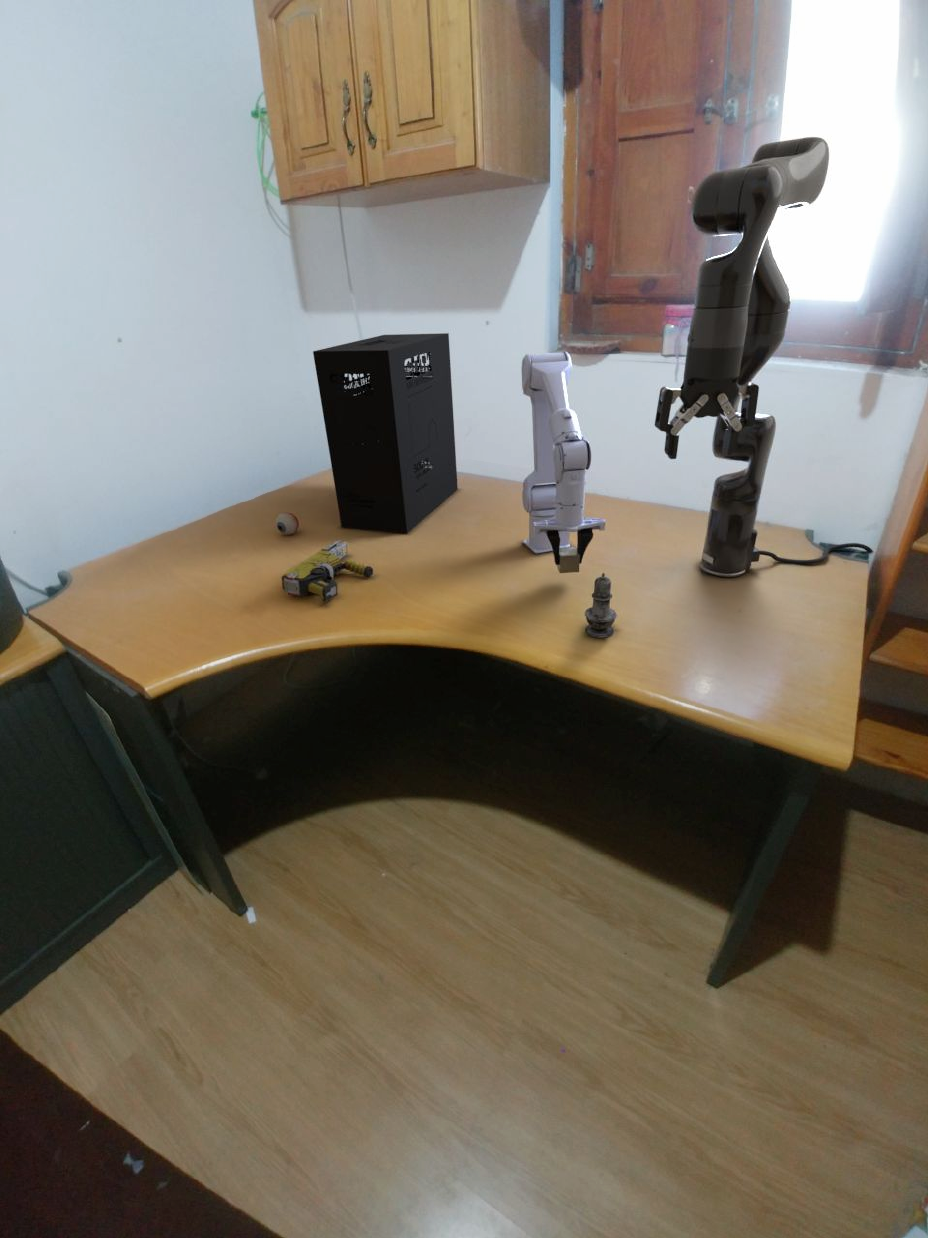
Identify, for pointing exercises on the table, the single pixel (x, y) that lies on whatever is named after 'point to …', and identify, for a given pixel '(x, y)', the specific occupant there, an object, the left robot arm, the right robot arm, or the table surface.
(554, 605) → the table surface
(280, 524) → the eyeball
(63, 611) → the table surface
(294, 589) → the toy gun
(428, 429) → the cardboard box
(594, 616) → the grey stone finial
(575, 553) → the grey cube
